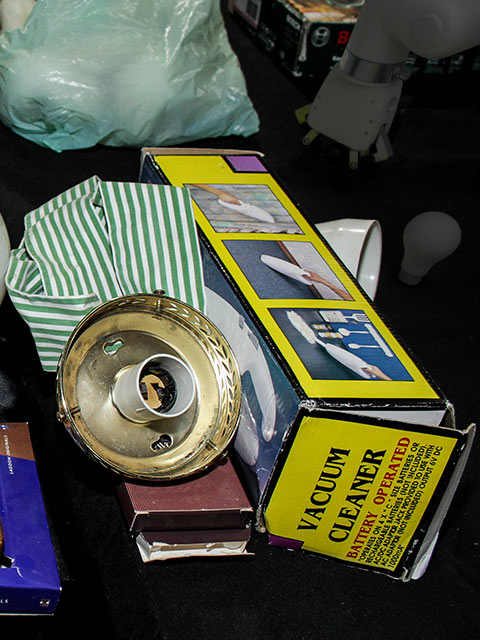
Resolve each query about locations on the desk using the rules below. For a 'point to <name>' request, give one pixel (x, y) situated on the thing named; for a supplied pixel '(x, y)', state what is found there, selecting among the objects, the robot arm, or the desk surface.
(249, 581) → the desk surface
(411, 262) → the lightbulb
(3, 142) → the desk surface
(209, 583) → the desk surface
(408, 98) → the switch bracket
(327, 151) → the switch lever
